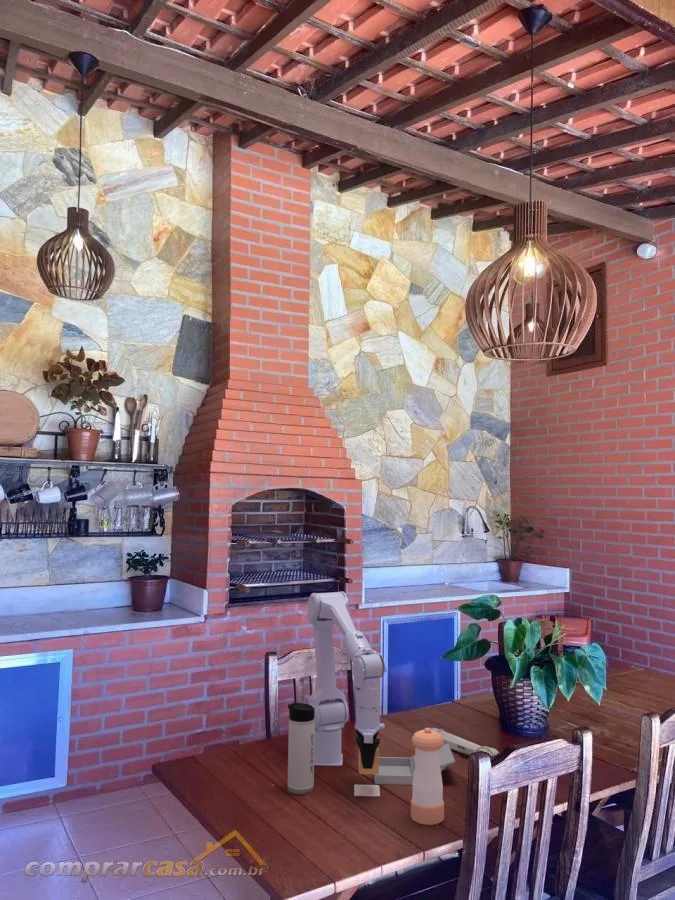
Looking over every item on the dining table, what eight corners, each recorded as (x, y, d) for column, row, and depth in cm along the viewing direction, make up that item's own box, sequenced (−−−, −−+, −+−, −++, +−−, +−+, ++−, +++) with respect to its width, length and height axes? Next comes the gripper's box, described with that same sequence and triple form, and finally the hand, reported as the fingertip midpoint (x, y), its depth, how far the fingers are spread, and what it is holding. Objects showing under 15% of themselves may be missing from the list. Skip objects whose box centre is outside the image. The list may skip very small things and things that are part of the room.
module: (359, 774, 164) (360, 748, 164) (358, 766, 168) (359, 741, 168) (378, 774, 164) (379, 748, 164) (377, 766, 168) (377, 741, 169)
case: (374, 787, 169) (375, 760, 169) (373, 766, 182) (373, 741, 182) (455, 788, 168) (456, 762, 169) (448, 768, 181) (448, 743, 182)
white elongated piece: (436, 742, 202) (506, 767, 182) (420, 747, 198) (490, 773, 178) (436, 723, 202) (506, 746, 183) (420, 728, 198) (489, 752, 178)
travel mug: (282, 786, 169) (284, 701, 170) (308, 782, 171) (310, 699, 172) (290, 796, 163) (292, 709, 164) (317, 792, 165) (318, 706, 166)
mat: (354, 797, 163) (354, 795, 163) (354, 787, 169) (354, 784, 169) (380, 798, 163) (380, 795, 163) (379, 787, 169) (379, 785, 169)
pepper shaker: (403, 816, 153) (404, 727, 155) (424, 806, 159) (425, 720, 160) (430, 828, 148) (430, 736, 149) (450, 817, 153) (451, 728, 155)
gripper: (386, 715, 160) (385, 776, 159) (383, 697, 174) (382, 753, 173) (355, 714, 160) (354, 775, 159) (354, 696, 174) (354, 752, 173)
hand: (367, 763), depth 166 cm, fingers closed on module, 5 cm apart
